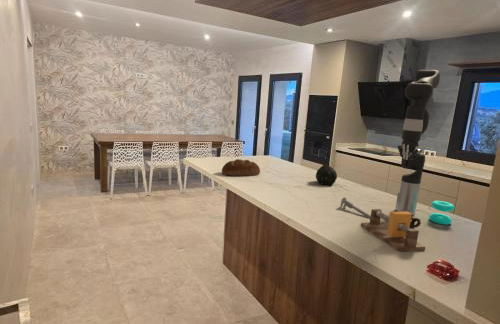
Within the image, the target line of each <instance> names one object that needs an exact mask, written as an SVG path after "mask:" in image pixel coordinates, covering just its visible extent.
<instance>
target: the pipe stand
mask: <svg viewBox="0 0 500 324" xmlns="http://www.w3.org/2000/svg"><path fill="white" fill-rule="evenodd" d="M382 211H383V210H382V209H379V208H378V209H376V208H375V209H374V208H372V209H371V212H370V215H371V217H370V218H369V222H361V224H360V226H361V227H362V228H363V229H365V230H367V231H368V232H369V233H370V234H373V235H374V236H376V237H377V238H378V239H380V240H381V241H383V242H384V243H385V244H388V245H389V246H390V247H392V248H393V249H394V250H395V251H398V252H399V253H401V252H414V251H415V252H418V251H420V252H421V251H425V250H426V246H425V245H423V244H421V243H420V242H418V236H419V232H420V231H419V230H418V229H416V228H414V229H411V228H409V227H407V226H405V225H403V224H402V223H399V224H398V228H399V229H400V230H402V231H404V232H406V236H405V237H390V236H389V235H387V230H388V224H389V218H390V215H387V214H385V213H384V212H382ZM381 219H382V220H384V221H381Z"/></svg>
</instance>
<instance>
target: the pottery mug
mask: <svg viewBox="0 0 500 324" xmlns="http://www.w3.org/2000/svg"><path fill="white" fill-rule="evenodd" d="M412 216H413V215H412ZM412 216H411V222H410V228H411V229H416V228H418V227H420V226H421V224H422V222H421V219H419V218H418V217H412ZM416 222H417V223H416ZM415 223H416V224H415Z"/></svg>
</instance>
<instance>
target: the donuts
mask: <svg viewBox="0 0 500 324" xmlns="http://www.w3.org/2000/svg"><path fill="white" fill-rule="evenodd" d="M431 207H432V208H433V209H434V210H437V211H440V212H444V213H446V212H448V213H450V212H453V211H455V205H454V204H452V203H450V202H447V201H444V200H443V201H442V200H433V201H432V202H431ZM428 218H429V220H430V221H431V222H433V223H436V224H439V225H445V226H447V225H450V224H451V223H452V221H453V220H452V218H451V217H450V216H449V215H447V214H443V213H439V212H433V213H431V214H429V216H428Z"/></svg>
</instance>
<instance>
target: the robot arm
mask: <svg viewBox="0 0 500 324" xmlns="http://www.w3.org/2000/svg"><path fill="white" fill-rule="evenodd" d="M440 79H441V74H440V71H439V70H436V69H418V70H416V73H415V76H414V81H412V82H410V83H408V84H407V86H406V87H405V90H404V96H405V97H406V99H408V100H412V101H411V104H410V105H408V106H407V107H406V111H405V118H404V121H403V127H402V133H401V140H402V142H401V144H400V145H397V150H398V153H399V155H400V157H401V163H400V164H401V168H403V169H407V170H412V171H413V170H414V171H413V172H411V173H408V174H403V175H402V176H401V180H400V187H399V192H398V193H397V197H396V202H395V203H396V204H395V209H394V210H396V211H395V212H405V211H407V212H409V213H411V214H412V216H413V215H416V210H417V204H418V199H419V193H420V188H421V187H420V186H421V182H422V175H423V172H424V171H423V170H424V166H425V162H426V155H425V153H423V152H422V151H423V149H420V147H419V142H420V141H421V138H422V135H423V134H424V133H425V131H426V130H427V129H428V126H429V121H430V112H429V110H428V108H427V105H428V102H429V101H430V99H431V97H432V94H433V92H434V89H436V88H437V87H438V86H439V84H440Z"/></svg>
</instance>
